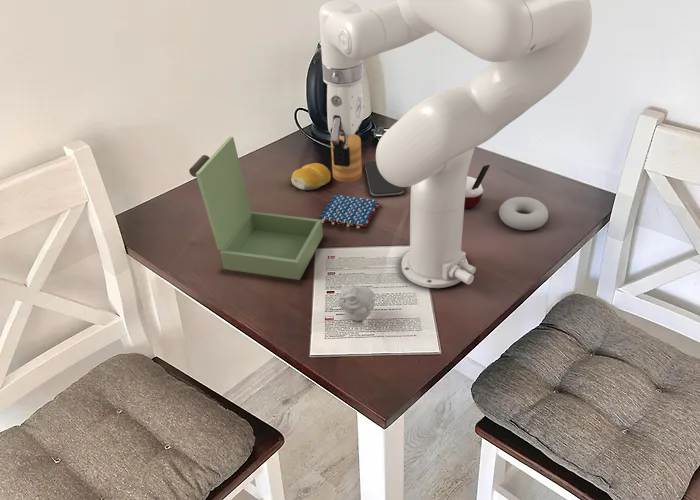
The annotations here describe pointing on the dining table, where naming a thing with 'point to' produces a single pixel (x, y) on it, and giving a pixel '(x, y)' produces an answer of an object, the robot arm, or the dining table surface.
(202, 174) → the box lid
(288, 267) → the box
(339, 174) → the cookies
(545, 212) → the donut
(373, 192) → the smartphone
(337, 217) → the woven mat
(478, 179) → the cocoa
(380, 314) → the dining table surface
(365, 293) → the frog figurine
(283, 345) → the dining table surface
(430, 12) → the robot arm
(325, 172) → the bread roll
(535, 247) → the dining table surface
